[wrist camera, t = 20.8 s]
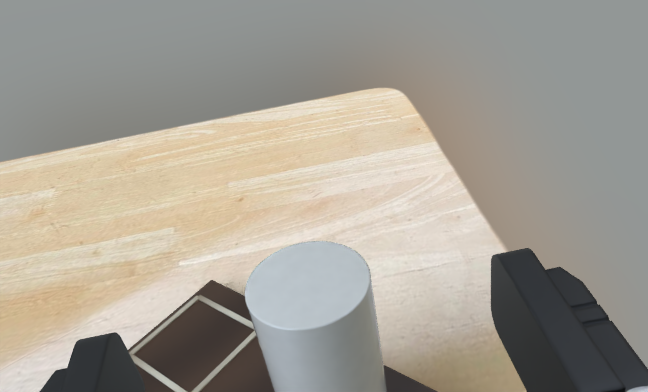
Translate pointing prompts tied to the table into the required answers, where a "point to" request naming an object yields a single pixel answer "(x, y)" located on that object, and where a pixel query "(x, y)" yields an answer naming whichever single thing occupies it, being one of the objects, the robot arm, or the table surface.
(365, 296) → the tall white cylinder
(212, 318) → the board
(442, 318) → the table surface
